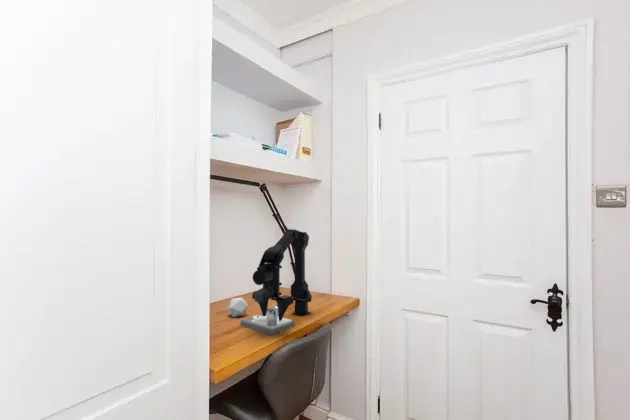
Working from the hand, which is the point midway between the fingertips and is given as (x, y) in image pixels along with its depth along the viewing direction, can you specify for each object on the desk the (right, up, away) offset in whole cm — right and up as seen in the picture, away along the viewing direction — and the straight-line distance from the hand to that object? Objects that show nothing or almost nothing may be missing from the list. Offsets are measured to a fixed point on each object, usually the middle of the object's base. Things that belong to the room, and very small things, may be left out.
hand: (272, 318), depth 135 cm
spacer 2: (0, -6, +16) cm, 17 cm away
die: (-19, -6, +20) cm, 28 cm away
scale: (-3, -5, +6) cm, 9 cm away
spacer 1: (0, -2, 0) cm, 2 cm away
